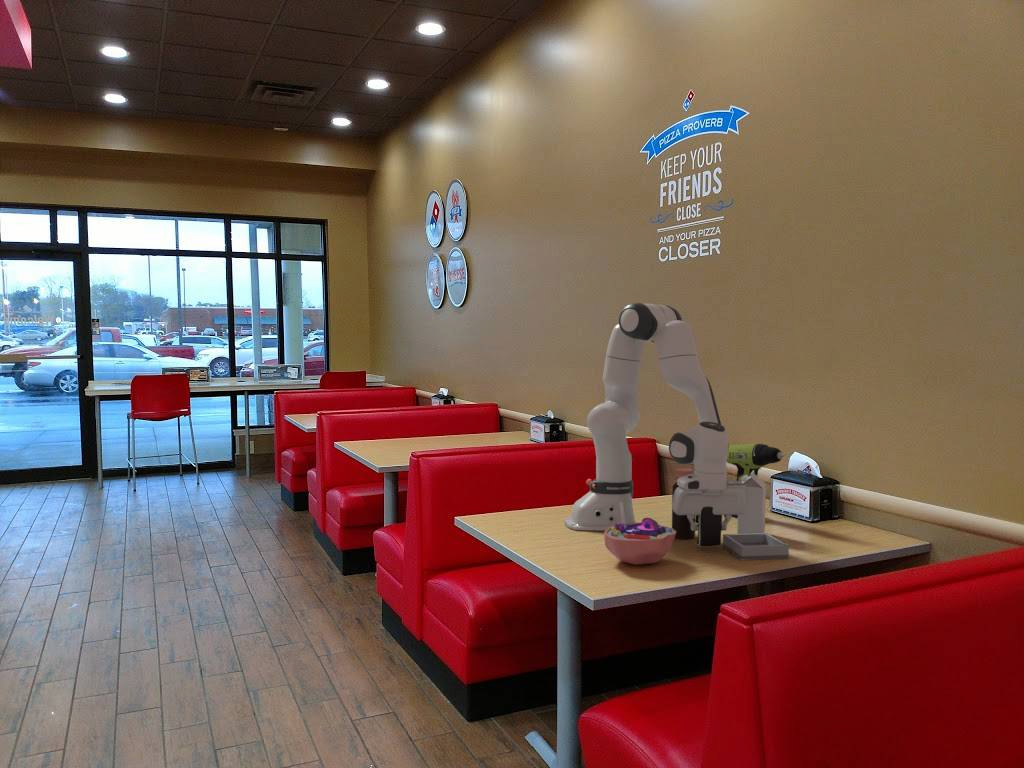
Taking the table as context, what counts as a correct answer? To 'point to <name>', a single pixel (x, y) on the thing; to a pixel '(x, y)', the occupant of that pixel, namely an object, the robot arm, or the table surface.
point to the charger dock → (755, 546)
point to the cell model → (639, 541)
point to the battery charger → (708, 528)
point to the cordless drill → (751, 458)
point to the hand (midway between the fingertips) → (708, 530)
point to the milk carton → (753, 506)
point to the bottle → (681, 521)
